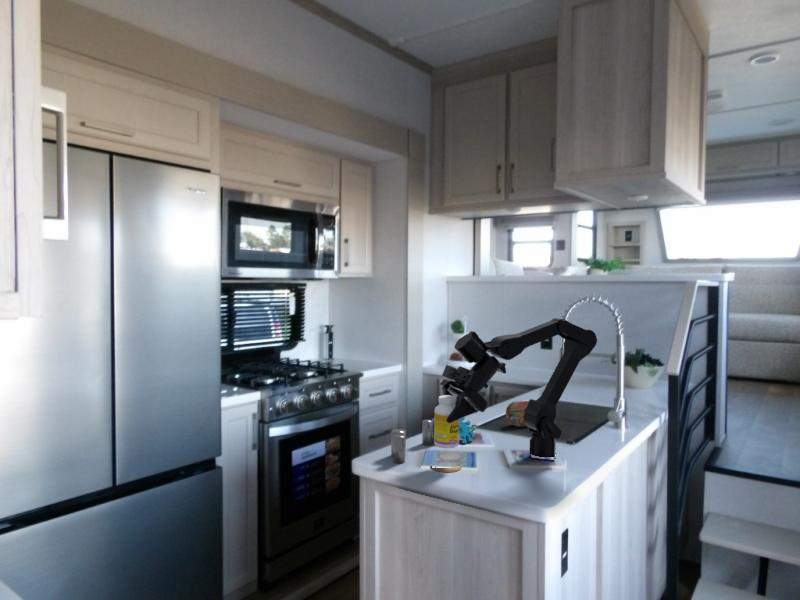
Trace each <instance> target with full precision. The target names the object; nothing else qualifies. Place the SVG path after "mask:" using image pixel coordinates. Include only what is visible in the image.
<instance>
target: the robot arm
mask: <svg viewBox="0 0 800 600" xmlns="http://www.w3.org/2000/svg"><path fill="white" fill-rule="evenodd" d="M556 336H559V337H560V338H562V339H564V342H563V354H562V356H561V357H560V359H559V362H558V363H557V365H556V367H555V368H554V371H553V372H552V374H551V376H550V378H549V380H548V382H547V384H546V386H545V387H544V389H543V391H542V393H541V395H540V397H538V398H537V399H533V398H530V399H529V400H530V401H529V403H528V405H527V407H526V409H525V410H523V411H524V412H525V413H524V416H523V419H524V423H525V424H526V426H525V427H527V429H528V432H529V433H531V434H532V435H531V438H530V439H529V455H531V454H532V455H535V456H539V457H555V454H556V455H557V452H556V450H557V449H556V447H557V446H556V443H557V440H556V439H560V438H561V435H562V430H561V429H560V428H559V426H557V424H556V423H555V422H556V419H557V405H558V403H559V401H560V399H561V398H562V396H563V393H564V391H565V390H566V389H567V386H568V384H569V382H570V381H571V379H572V377H573V375H574V373H575V371H576V369H577V368H578V366H579V364H580V362H581V361H582V360H583V359H584V358H586V357H587V356H589V355H590V354H591V352H592V351H593V349H594V348H595V347H596V345H597V343H598V338H597V334H596V333H595V331H594V330H591V329H587V328H583V327H580V326H578V325H576V324H573V323H572V322H570V321H568V320H566V318H565V319H564V318H556V317H555V318H552V319H551V320H549V321H547V322H544V323H542V324H539V325H537V326H534V327H531V328H528V329H526V330H524V331H520V332H517V333H514V334H513V333H512V334H503V335H499V336H495V337H493V338H491V339H490V341H485V342H484V340H482V339H481V338H480V337H479V335H478V333H476V331H472V330H470V332H469V333H467V334H465V335H463V336H462V337H461V338H460V337H459V338H458V339H457V341H456V342H455V344H454V349H455V350H456V351H457V352H458V353H459V354H460V355H461V356H462V357H463V358H464V359H465V361H467V363H469V364H472V363H474V365H473V366H472V367H471V368H470V369H468V368H465V367H463V366H458V367H457V368H456V367H454V366H451V365H449V364H446V365H445V367H444V369H443V371H442V374H441V376H442V377H444V378H443V380H442V381H441V382H440V383H439V385H440V387H441V391H442V395H451V396H455V397H456V403H455V408H454V409H453V411H452V412H451V414H450V415H449V417H448V418H447V420H446V421H447V422H448V423H451V422H453V421H456V420H458V419H460V418H462V417H464V418H465V417H466V416H469V415H472V414H474V413H478V411H479V412H480V413H484V412H485V411H486V410H487V408H488V404H489V401H487V400H486V399H485V398H484V397H483V396H482V395H481V393H480V392H481V391H483V389H488V387H489V385H488V383H489V382H490V380H491V379H492V378H493V376H495V374H497V372H499V373H501V374H506V373H507V368H506V363H505V362H502V361H501V362H500V361H499V360H498V359H500V360H501V359H502V360H505V361H510V360H513V359H514V358H516V357H517V356H519V355H521V353H523V352H524V350H526V349H527V348H529V347H531V346H533V345H536V344H539V343H541V342H544V341H546V340H549V339H551V338H554V337H556ZM489 353H490V354H491V355H490V354H489ZM535 400H536V401H535ZM555 458H556V457H555Z"/></svg>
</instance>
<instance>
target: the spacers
mask: <svg viewBox="0 0 800 600" xmlns="http://www.w3.org/2000/svg"><path fill="white" fill-rule="evenodd" d="M421 422H422V423H421V424H422V428H421V429H422V430H421V432H422V433H421V435H422V436H421V437H422V439H421V444H422V445H423V446H432V445H433V444H434V418H432V419H423V420H422V421H421ZM390 432H391V438H390V439H391V444H390V445H391V447H390V457H392V458H393V463H395V464H404V463H405V461H406V447H407V446H406V444H407V443H406V439H407V437H406V435H407V433H406V432H407V431H406V430H405V429H401V428H397V429H391V431H390Z"/></svg>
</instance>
